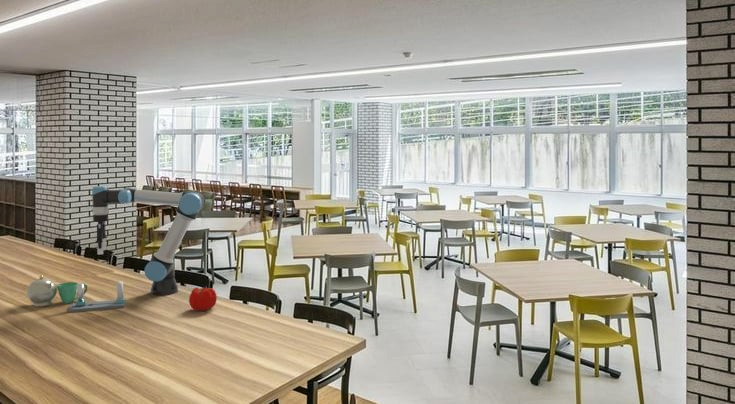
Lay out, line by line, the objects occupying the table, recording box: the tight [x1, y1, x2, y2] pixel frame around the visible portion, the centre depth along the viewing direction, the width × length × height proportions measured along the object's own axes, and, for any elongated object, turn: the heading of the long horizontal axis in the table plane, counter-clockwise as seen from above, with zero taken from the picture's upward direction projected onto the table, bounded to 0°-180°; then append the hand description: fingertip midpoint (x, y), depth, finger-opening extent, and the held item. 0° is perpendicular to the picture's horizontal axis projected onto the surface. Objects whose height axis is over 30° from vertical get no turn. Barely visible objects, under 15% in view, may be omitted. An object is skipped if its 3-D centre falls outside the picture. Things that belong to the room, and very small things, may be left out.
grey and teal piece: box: [67, 281, 126, 313], centre depth 282 cm, size 26×12×12 cm, turn 111°
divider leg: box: [75, 283, 87, 306], centre depth 279 cm, size 4×3×11 cm
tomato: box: [188, 287, 218, 312], centre depth 279 cm, size 13×14×12 cm
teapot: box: [26, 274, 58, 308], centre depth 284 cm, size 18×14×16 cm
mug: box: [56, 281, 88, 304], centre depth 292 cm, size 15×10×10 cm
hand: (101, 252), depth 295 cm, fingers open, 13 cm apart
